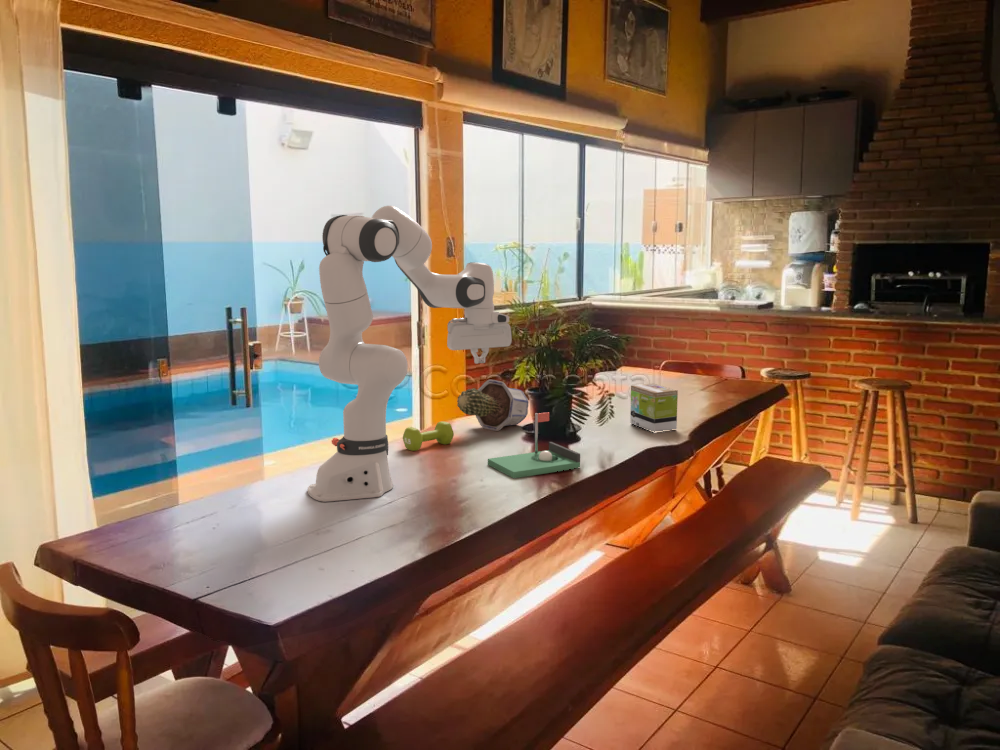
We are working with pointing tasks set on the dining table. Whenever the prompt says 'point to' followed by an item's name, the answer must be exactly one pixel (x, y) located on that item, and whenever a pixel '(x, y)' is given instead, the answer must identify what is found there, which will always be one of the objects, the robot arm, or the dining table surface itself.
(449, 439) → the dumbbell
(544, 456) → the ball
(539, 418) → the flag pin
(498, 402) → the potted plant
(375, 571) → the dining table surface
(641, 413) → the tea box
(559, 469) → the mat
